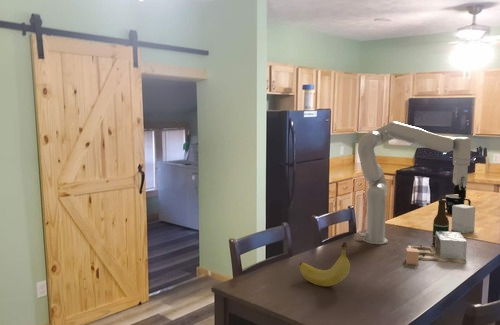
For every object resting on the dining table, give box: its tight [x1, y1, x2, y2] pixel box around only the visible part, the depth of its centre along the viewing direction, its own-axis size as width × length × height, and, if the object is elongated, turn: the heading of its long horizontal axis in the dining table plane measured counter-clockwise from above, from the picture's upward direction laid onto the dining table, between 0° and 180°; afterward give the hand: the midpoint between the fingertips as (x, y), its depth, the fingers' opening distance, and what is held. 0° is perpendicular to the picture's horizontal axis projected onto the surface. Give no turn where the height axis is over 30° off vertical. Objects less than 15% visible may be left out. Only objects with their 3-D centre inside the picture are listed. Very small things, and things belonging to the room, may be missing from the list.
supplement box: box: [451, 204, 476, 234], centre depth 246 cm, size 9×9×15 cm
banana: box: [298, 241, 351, 287], centre depth 167 cm, size 23×6×20 cm, turn 50°
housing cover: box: [434, 231, 468, 261], centre depth 202 cm, size 11×16×9 cm
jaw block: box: [405, 247, 419, 266], centre depth 194 cm, size 5×5×6 cm
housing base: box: [407, 244, 467, 264], centre depth 204 cm, size 24×18×2 cm
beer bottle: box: [432, 199, 450, 245], centre depth 220 cm, size 8×8×24 cm
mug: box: [439, 194, 472, 214], centre depth 292 cm, size 16×16×12 cm
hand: (459, 196), depth 208 cm, fingers open, 9 cm apart
